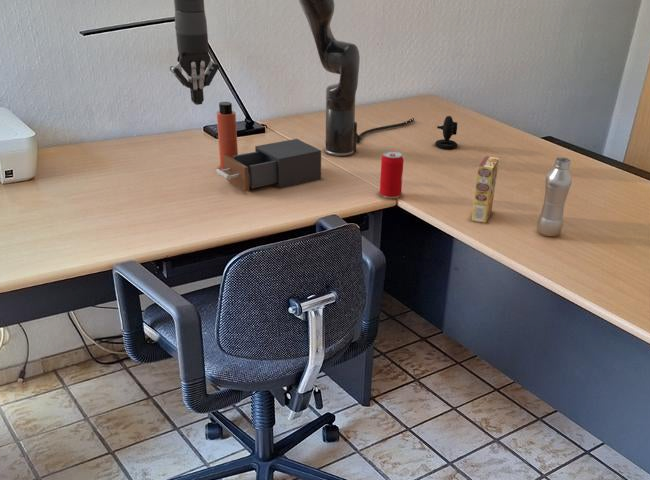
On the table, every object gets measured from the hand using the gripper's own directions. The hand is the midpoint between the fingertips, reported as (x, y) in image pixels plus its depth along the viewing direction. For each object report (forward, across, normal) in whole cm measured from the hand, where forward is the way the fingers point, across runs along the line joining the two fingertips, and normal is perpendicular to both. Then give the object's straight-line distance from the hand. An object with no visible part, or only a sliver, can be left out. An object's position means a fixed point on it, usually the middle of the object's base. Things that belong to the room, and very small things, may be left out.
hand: (197, 103), depth 186 cm
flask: (+24, +16, +14) cm, 32 cm away
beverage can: (+24, +44, -27) cm, 57 cm away
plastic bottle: (+24, +63, -70) cm, 98 cm away
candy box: (+24, +56, -52) cm, 81 cm away
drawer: (+23, +14, -1) cm, 27 cm away
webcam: (+24, +90, -2) cm, 93 cm away
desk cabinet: (+24, +27, 0) cm, 36 cm away
